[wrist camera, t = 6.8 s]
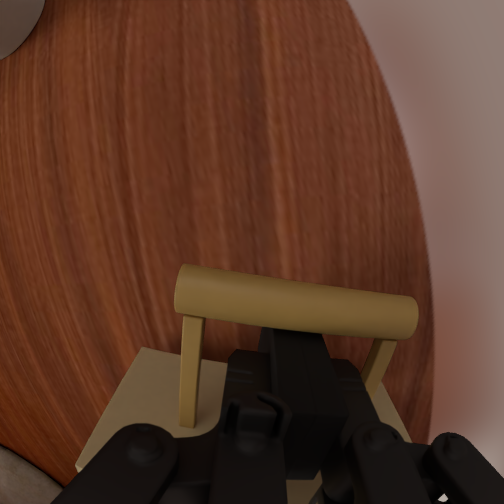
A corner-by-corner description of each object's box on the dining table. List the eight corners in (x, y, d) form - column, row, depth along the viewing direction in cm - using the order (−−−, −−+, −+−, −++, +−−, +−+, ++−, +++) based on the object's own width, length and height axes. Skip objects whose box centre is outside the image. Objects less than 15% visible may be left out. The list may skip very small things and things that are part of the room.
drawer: (145, 222, 12) (24, 291, 5) (418, 267, 13) (530, 351, 5) (156, 499, 19) (139, 568, 11) (297, 515, 19) (303, 584, 11)
